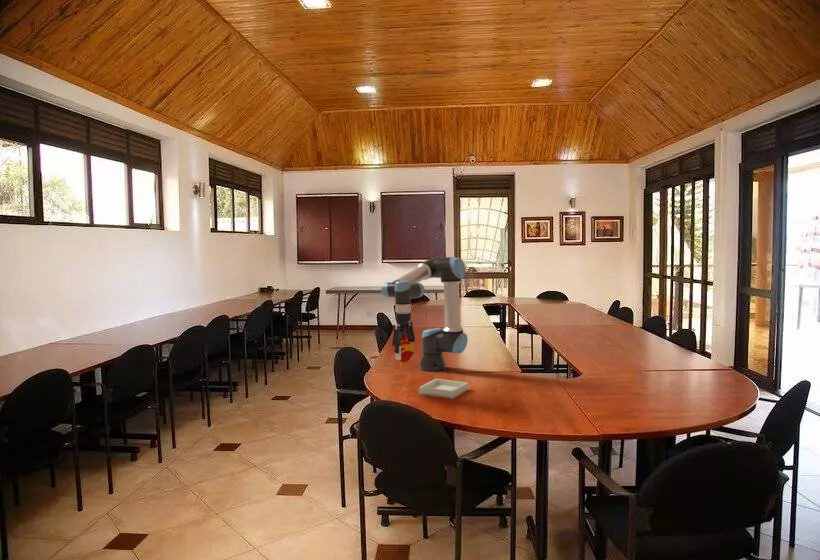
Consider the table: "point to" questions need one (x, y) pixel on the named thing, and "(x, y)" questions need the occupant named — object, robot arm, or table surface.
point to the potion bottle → (405, 350)
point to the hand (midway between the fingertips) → (404, 357)
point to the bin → (443, 388)
